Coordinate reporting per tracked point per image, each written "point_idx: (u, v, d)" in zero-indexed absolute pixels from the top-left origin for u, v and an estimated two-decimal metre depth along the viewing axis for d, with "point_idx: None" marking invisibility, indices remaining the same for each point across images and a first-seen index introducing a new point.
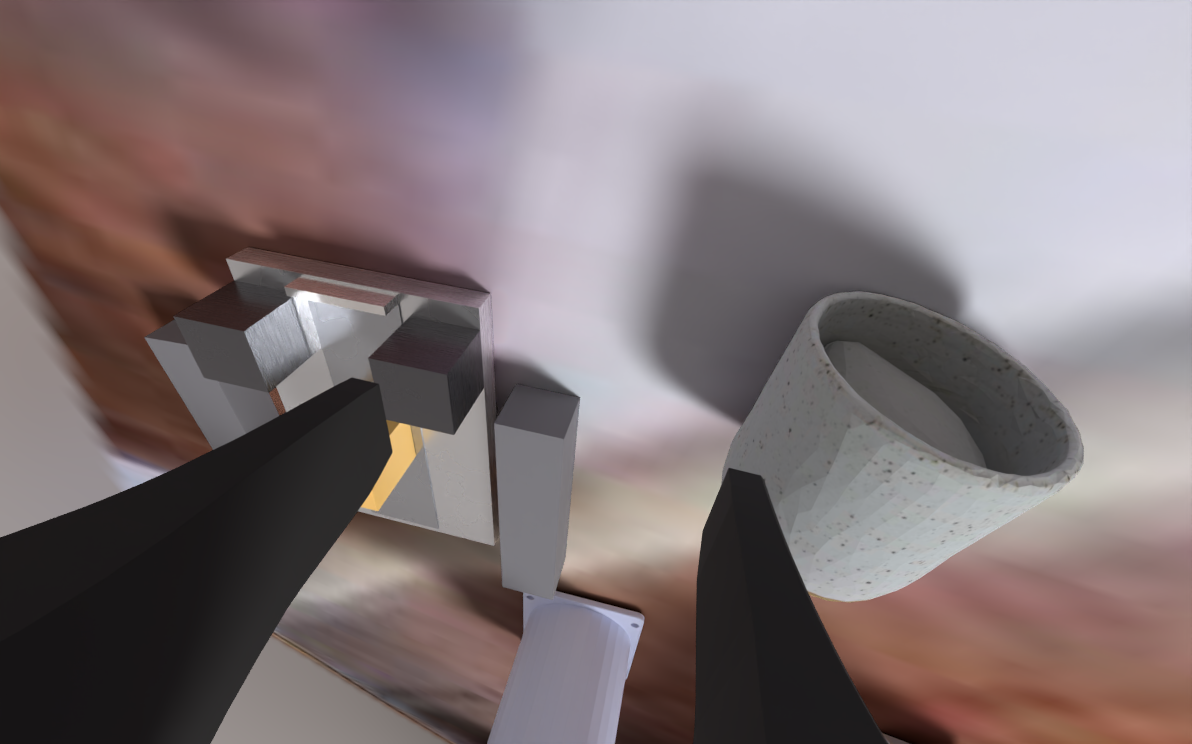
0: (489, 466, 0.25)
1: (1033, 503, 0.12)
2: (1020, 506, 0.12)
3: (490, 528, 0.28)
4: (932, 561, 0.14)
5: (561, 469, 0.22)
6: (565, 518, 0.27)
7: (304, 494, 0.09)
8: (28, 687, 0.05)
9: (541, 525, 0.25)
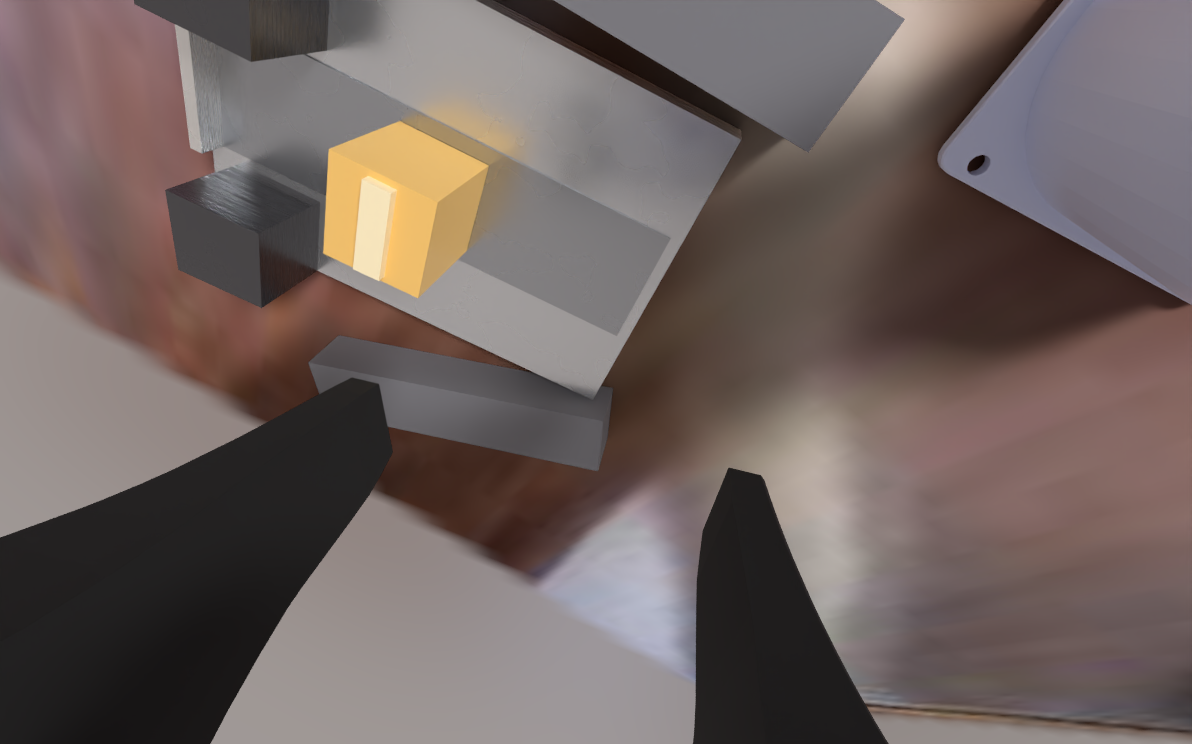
0: (515, 21, 0.14)
1: None
2: None
3: (685, 117, 0.14)
4: None
5: None
6: None
7: (304, 494, 0.09)
8: (28, 687, 0.05)
9: None
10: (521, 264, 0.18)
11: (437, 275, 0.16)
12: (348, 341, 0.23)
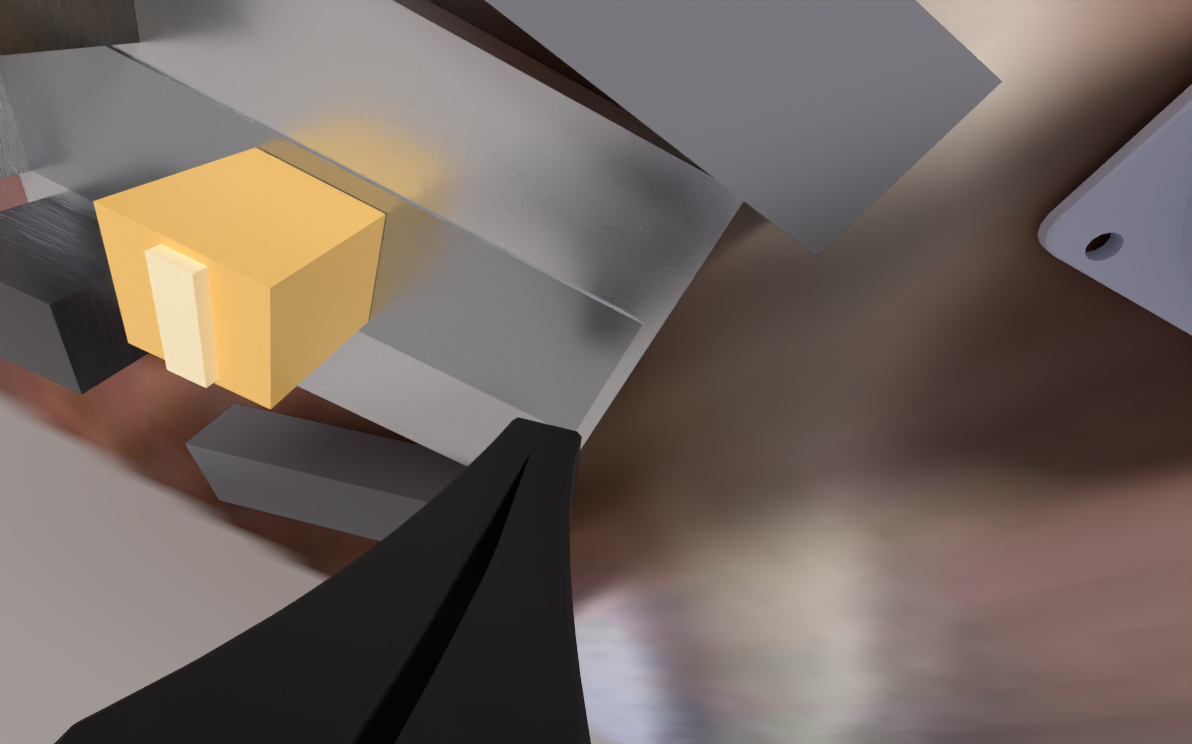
0: (404, 6, 0.09)
1: None
2: None
3: (662, 160, 0.09)
4: None
5: None
6: None
7: (497, 547, 0.08)
8: None
9: None
10: (443, 342, 0.13)
11: (309, 368, 0.11)
12: (244, 412, 0.19)
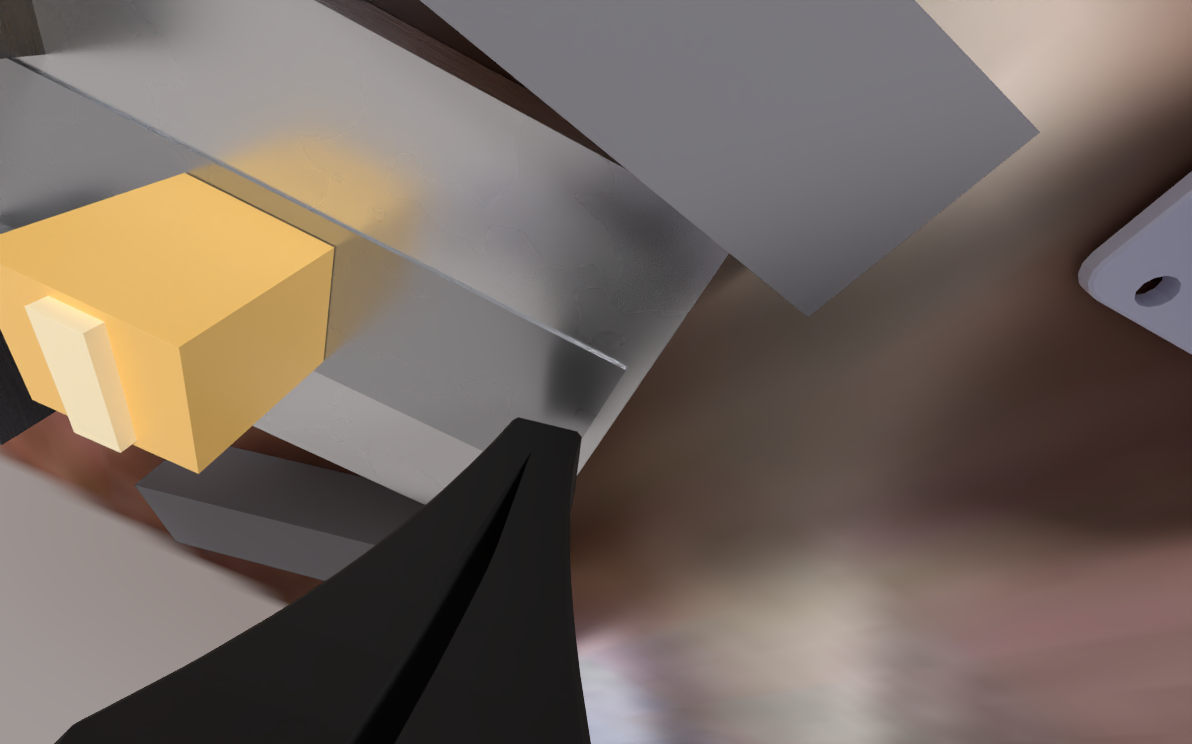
0: (340, 13, 0.07)
1: None
2: None
3: (645, 191, 0.08)
4: None
5: None
6: None
7: (497, 546, 0.08)
8: None
9: None
10: (407, 384, 0.12)
11: (248, 422, 0.10)
12: None
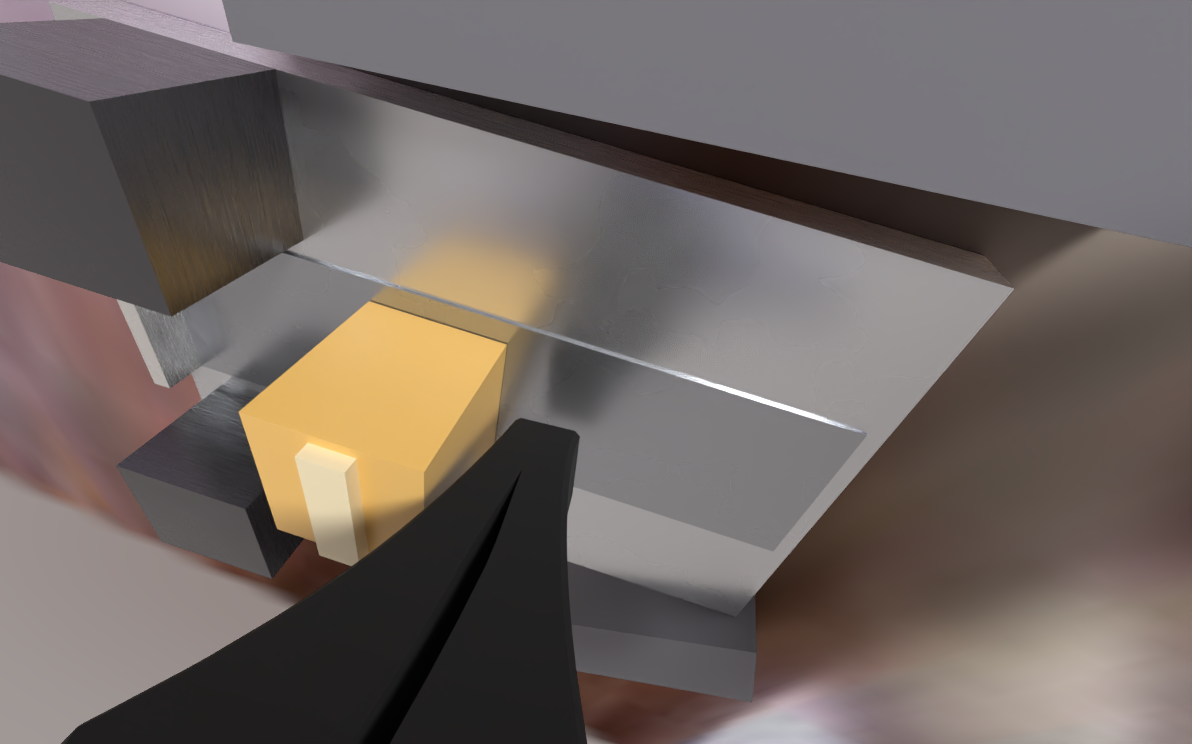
0: (583, 160, 0.08)
1: None
2: None
3: (899, 266, 0.08)
4: None
5: None
6: None
7: None
8: None
9: None
10: (620, 473, 0.12)
11: None
12: None
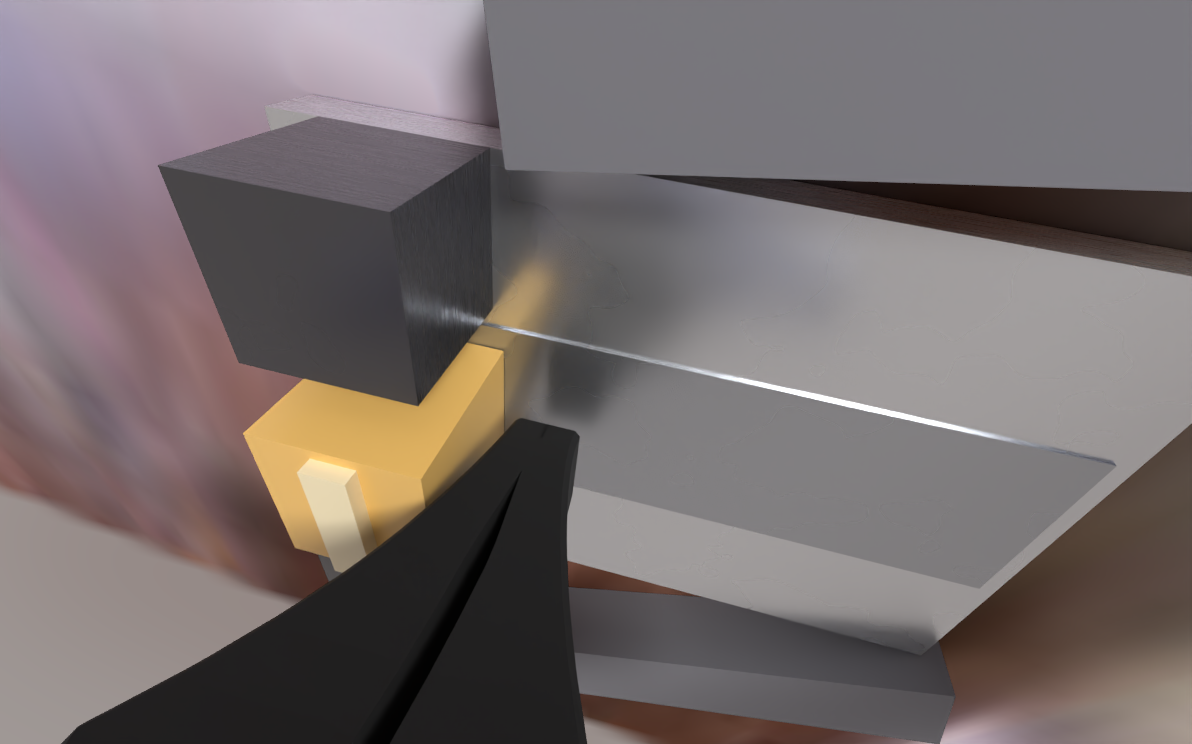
0: (817, 207, 0.08)
1: None
2: None
3: (1188, 288, 0.07)
4: None
5: None
6: None
7: None
8: None
9: None
10: (809, 515, 0.12)
11: None
12: None
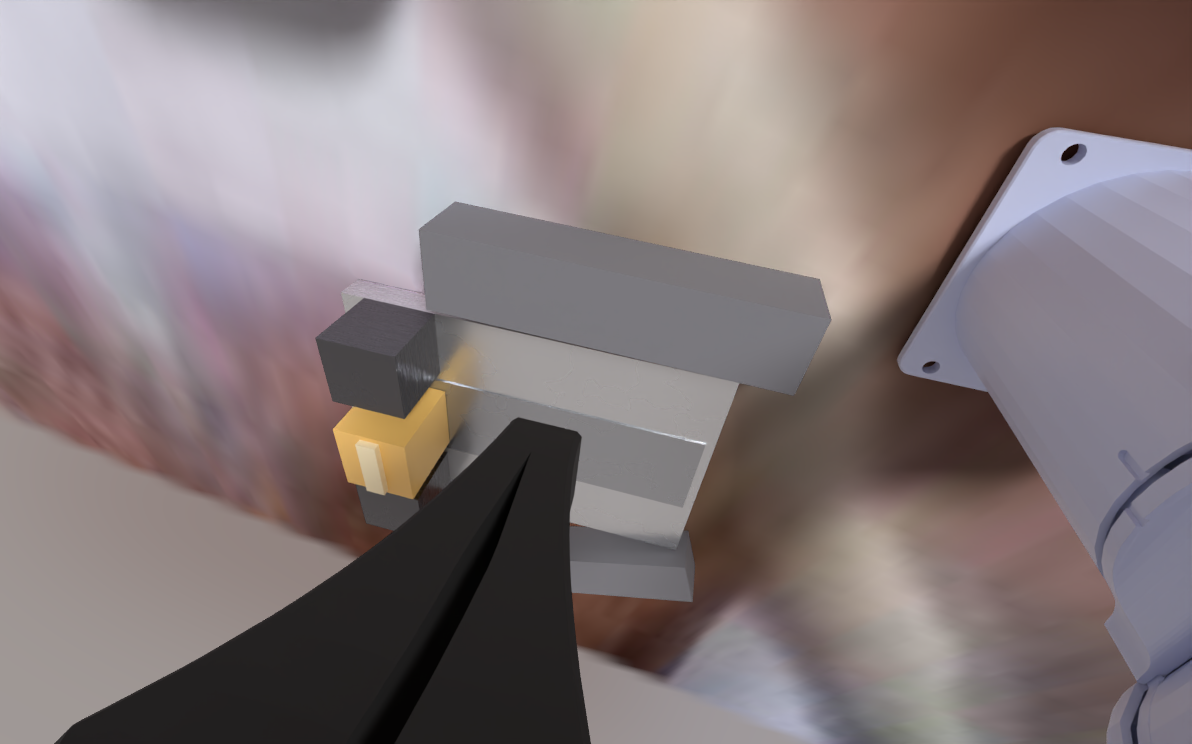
0: (561, 342, 0.19)
1: None
2: None
3: (693, 376, 0.19)
4: None
5: (475, 242, 0.16)
6: (661, 257, 0.17)
7: (496, 546, 0.08)
8: None
9: (605, 294, 0.16)
10: (598, 471, 0.23)
11: (426, 475, 0.22)
12: None
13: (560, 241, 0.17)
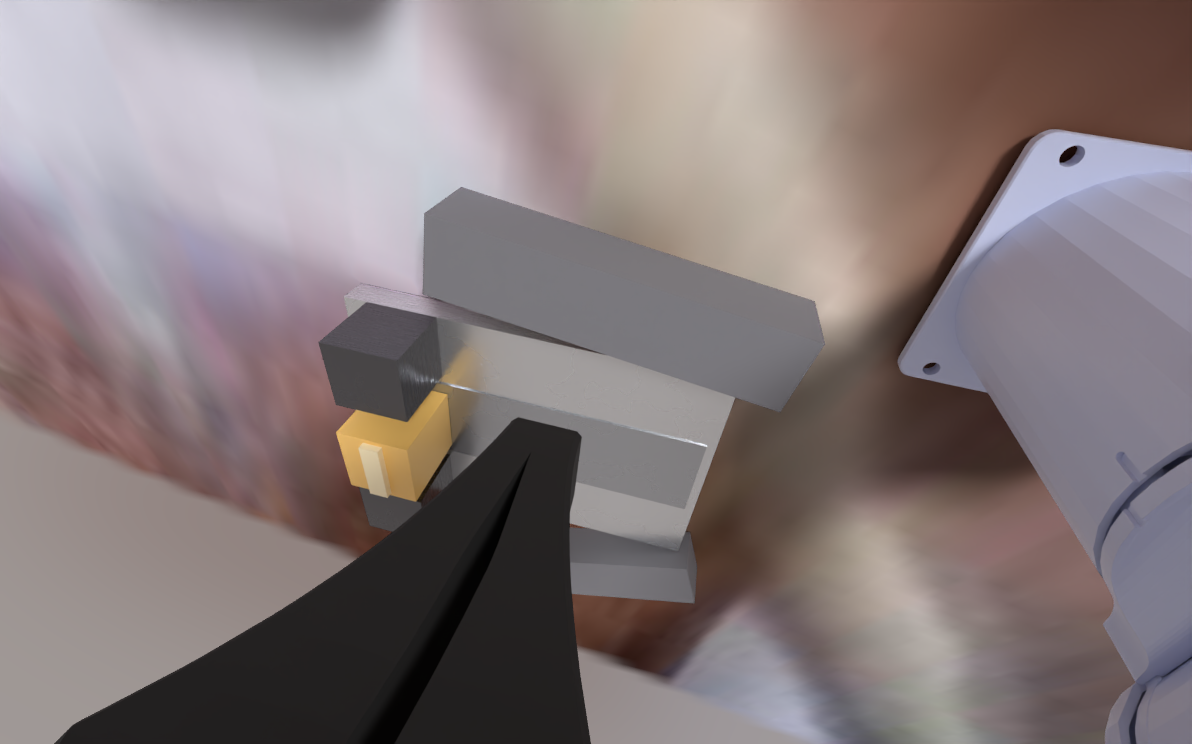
0: (562, 344, 0.20)
1: None
2: None
3: None
4: None
5: (482, 232, 0.16)
6: (664, 266, 0.17)
7: (496, 546, 0.08)
8: None
9: (607, 298, 0.16)
10: (600, 473, 0.23)
11: (428, 477, 0.22)
12: None
13: (566, 239, 0.17)
